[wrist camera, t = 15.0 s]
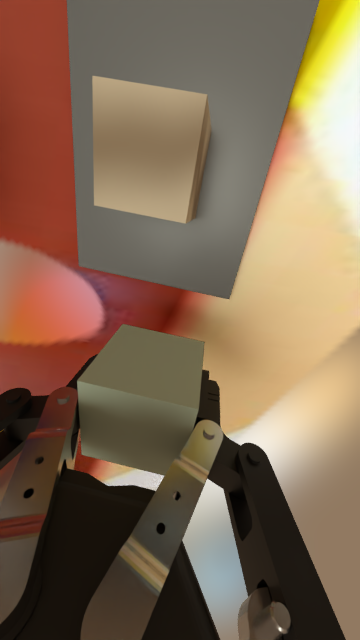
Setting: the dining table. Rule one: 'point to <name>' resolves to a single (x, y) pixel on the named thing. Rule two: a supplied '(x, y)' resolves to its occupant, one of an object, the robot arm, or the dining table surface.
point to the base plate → (225, 115)
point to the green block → (140, 398)
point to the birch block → (149, 148)
